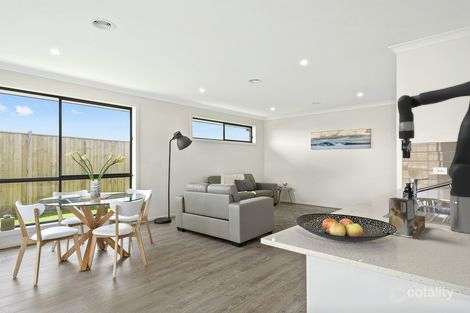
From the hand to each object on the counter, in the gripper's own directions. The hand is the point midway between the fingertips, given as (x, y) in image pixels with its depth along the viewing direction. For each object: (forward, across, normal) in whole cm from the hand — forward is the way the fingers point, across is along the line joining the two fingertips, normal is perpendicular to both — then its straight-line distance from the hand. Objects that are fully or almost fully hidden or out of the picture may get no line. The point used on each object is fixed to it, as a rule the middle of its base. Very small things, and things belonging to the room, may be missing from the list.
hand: (406, 158), depth 147 cm
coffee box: (+36, -31, -3) cm, 47 cm away
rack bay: (+36, -24, -3) cm, 43 cm away
